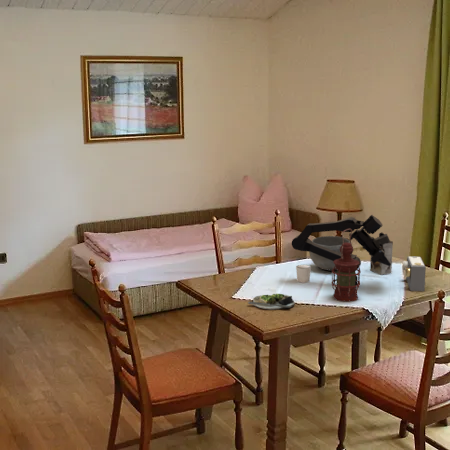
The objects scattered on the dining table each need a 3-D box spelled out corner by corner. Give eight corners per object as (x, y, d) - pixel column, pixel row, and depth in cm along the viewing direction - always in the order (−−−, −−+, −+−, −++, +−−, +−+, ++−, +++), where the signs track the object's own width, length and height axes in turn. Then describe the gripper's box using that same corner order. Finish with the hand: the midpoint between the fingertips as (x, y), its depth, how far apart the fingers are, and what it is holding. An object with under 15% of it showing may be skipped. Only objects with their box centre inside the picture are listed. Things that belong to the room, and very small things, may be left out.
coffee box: (369, 270, 311) (370, 238, 308) (380, 269, 314) (381, 237, 311) (381, 275, 303) (382, 242, 300) (392, 273, 306) (393, 241, 302)
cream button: (403, 270, 290) (403, 262, 289) (402, 268, 294) (402, 260, 293) (409, 270, 289) (410, 262, 289) (409, 268, 293) (409, 260, 293)
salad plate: (250, 313, 254) (250, 302, 253) (244, 299, 272) (244, 289, 271) (297, 310, 256) (297, 300, 255) (289, 297, 273) (289, 287, 272)
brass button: (405, 278, 278) (406, 269, 278) (404, 275, 282) (405, 266, 281) (412, 278, 278) (413, 269, 277) (411, 275, 282) (412, 267, 281)
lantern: (350, 304, 262) (352, 233, 256) (325, 298, 270) (326, 229, 264) (365, 297, 271) (367, 228, 265) (340, 291, 279) (341, 225, 273)
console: (410, 290, 278) (411, 265, 276) (406, 279, 296) (407, 255, 293) (424, 291, 277) (425, 265, 275) (419, 279, 294) (420, 255, 292)
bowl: (302, 265, 322) (303, 237, 319) (339, 262, 328) (339, 233, 325) (320, 276, 303) (321, 245, 300) (358, 272, 309) (359, 242, 306)
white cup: (293, 281, 295) (293, 267, 293) (299, 278, 301) (299, 263, 299) (307, 283, 292) (307, 268, 290) (312, 279, 297) (313, 265, 296)
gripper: (380, 232, 269) (406, 258, 269) (378, 224, 287) (402, 248, 287) (360, 250, 272) (386, 275, 272) (360, 240, 290) (384, 264, 290)
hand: (390, 265), depth 280 cm, fingers closed
